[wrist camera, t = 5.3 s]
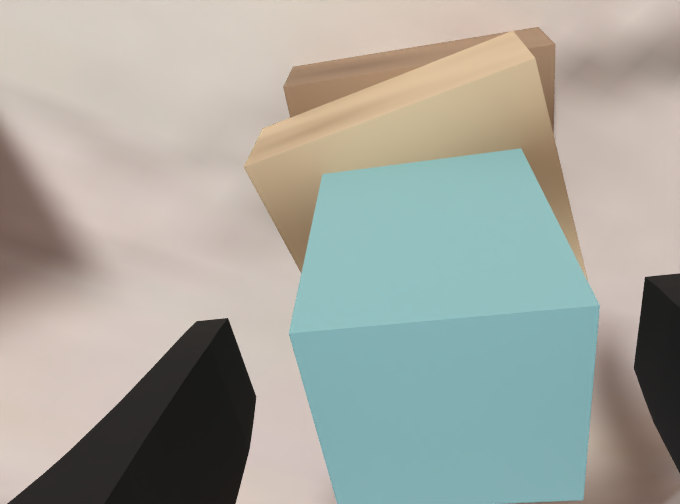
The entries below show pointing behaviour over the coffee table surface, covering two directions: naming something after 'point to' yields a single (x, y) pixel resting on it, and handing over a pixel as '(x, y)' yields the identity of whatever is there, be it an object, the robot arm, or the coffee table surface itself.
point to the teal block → (446, 335)
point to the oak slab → (413, 133)
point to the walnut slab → (400, 70)
